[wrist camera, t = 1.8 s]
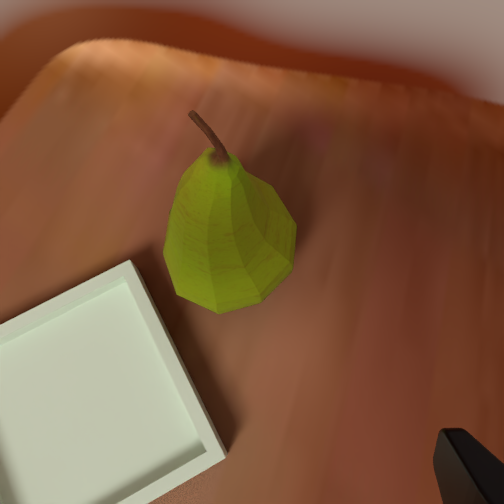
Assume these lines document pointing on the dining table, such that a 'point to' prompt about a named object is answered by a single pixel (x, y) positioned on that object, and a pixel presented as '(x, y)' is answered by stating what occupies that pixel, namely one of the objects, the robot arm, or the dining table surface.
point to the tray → (98, 400)
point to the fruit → (226, 233)
